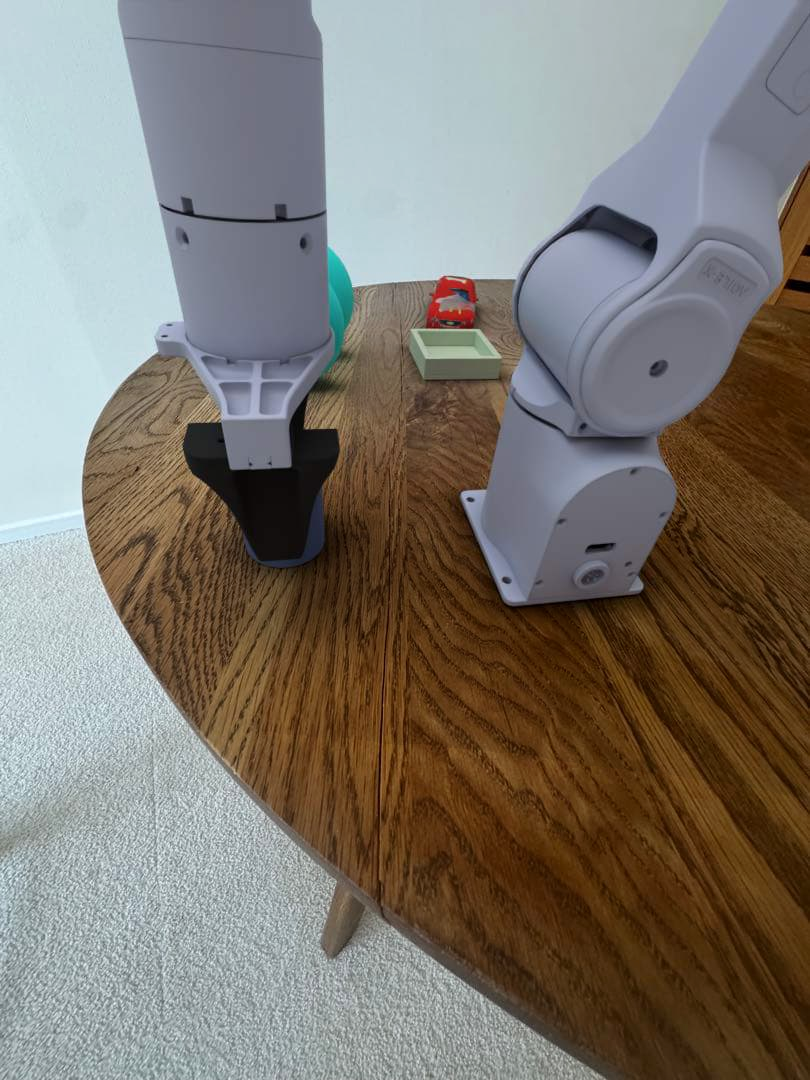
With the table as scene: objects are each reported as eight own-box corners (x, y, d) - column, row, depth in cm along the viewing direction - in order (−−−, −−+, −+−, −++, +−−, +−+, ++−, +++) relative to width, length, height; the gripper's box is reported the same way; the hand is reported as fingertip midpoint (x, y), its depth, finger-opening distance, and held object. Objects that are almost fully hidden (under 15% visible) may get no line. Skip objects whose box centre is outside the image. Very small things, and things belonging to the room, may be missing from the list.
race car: (472, 344, 53) (478, 304, 50) (421, 337, 53) (424, 297, 51) (477, 304, 63) (483, 269, 60) (434, 299, 63) (438, 264, 60)
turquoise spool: (355, 349, 50) (355, 233, 43) (342, 396, 42) (341, 264, 35) (253, 341, 49) (238, 223, 43) (222, 386, 42) (198, 251, 35)
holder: (498, 379, 47) (502, 358, 46) (423, 380, 46) (425, 358, 44) (476, 348, 52) (479, 328, 51) (408, 348, 51) (410, 328, 49)
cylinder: (327, 564, 27) (324, 507, 25) (243, 571, 27) (231, 512, 24) (322, 513, 31) (319, 458, 28) (247, 518, 30) (237, 461, 27)
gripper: (159, 168, 22) (214, 436, 31) (55, 254, 12) (182, 618, 21) (320, 179, 24) (328, 433, 33) (353, 264, 13) (351, 603, 22)
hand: (280, 505), depth 27 cm, fingers open, 7 cm apart
